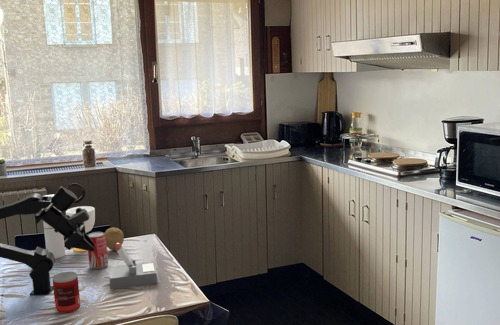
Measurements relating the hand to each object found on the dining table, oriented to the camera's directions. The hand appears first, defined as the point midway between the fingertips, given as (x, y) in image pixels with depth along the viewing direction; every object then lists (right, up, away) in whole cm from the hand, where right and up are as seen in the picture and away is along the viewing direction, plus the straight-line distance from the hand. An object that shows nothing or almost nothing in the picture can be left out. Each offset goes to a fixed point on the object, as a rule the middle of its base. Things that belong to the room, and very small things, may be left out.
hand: (94, 248), depth 197 cm
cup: (-16, -7, +43) cm, 46 cm away
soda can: (-4, -10, +21) cm, 23 cm away
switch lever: (+13, -7, +4) cm, 15 cm away
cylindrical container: (-25, -9, +35) cm, 44 cm away
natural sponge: (-2, -7, +38) cm, 39 cm away
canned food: (-4, -17, -16) cm, 24 cm away
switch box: (+13, -12, +5) cm, 19 cm away
